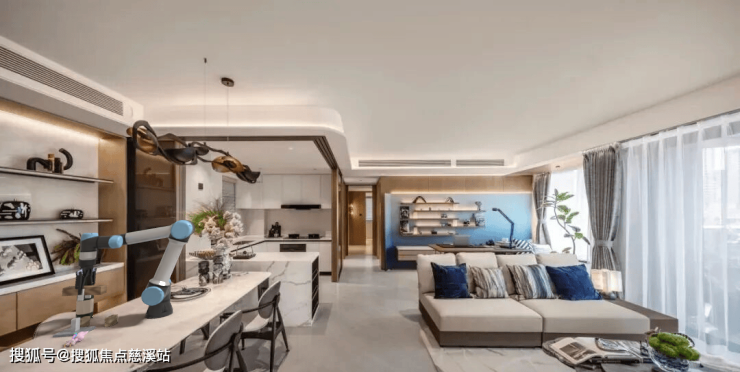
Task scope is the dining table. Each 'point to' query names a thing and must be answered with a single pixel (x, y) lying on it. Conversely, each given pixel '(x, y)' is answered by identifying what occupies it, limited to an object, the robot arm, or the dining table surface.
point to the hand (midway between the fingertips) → (84, 299)
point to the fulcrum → (74, 329)
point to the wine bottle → (85, 306)
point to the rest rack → (108, 321)
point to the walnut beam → (85, 290)
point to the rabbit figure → (75, 339)
